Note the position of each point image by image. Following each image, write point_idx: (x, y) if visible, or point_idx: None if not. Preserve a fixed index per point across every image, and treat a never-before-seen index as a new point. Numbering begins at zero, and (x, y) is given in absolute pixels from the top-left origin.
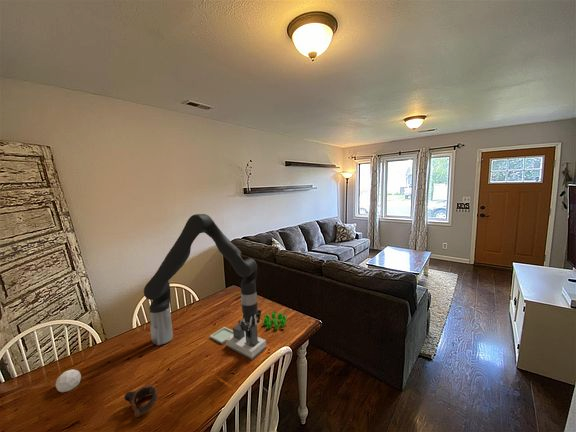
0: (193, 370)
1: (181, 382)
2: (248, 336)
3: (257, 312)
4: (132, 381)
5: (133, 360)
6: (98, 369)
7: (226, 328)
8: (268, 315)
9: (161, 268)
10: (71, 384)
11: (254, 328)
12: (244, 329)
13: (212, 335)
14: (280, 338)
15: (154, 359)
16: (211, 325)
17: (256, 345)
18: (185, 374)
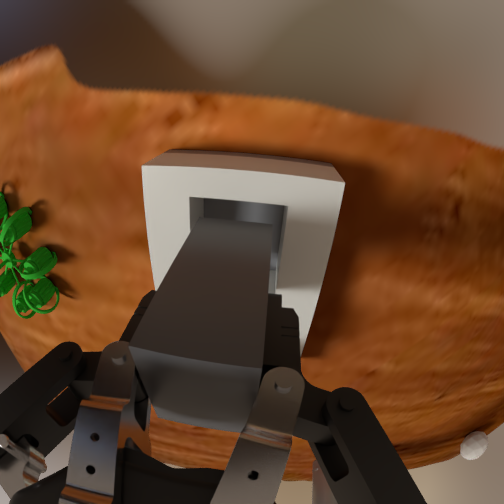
0: (448, 354)
1: (491, 341)
2: (288, 313)
3: (16, 470)
4: (469, 407)
5: (409, 443)
6: (432, 447)
7: None
8: (14, 303)
9: None
10: (484, 439)
11: (196, 338)
12: (379, 430)
13: None
14: (57, 135)
15: (405, 431)
16: (212, 431)
17: (246, 194)
18: (463, 357)
